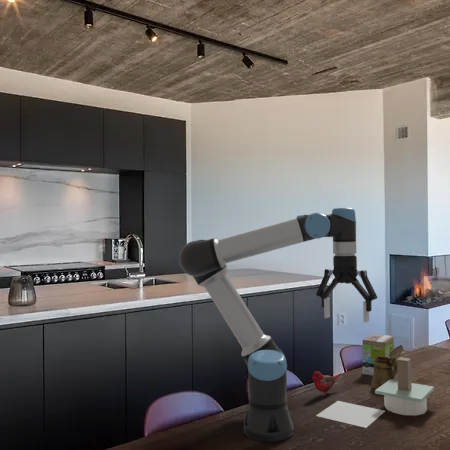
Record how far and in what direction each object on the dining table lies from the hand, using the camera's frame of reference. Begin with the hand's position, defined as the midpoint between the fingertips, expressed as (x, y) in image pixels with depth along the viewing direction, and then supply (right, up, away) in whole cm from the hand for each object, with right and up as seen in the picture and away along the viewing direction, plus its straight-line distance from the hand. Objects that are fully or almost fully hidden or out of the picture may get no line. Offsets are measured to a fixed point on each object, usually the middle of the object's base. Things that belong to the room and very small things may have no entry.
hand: (346, 319), depth 157 cm
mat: (+2, -32, +1) cm, 32 cm away
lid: (+21, -25, +5) cm, 33 cm away
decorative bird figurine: (-2, -32, +21) cm, 39 cm away
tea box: (+26, -32, +49) cm, 64 cm away
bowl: (+21, -31, +5) cm, 38 cm away
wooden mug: (+23, -32, +26) cm, 47 cm away
